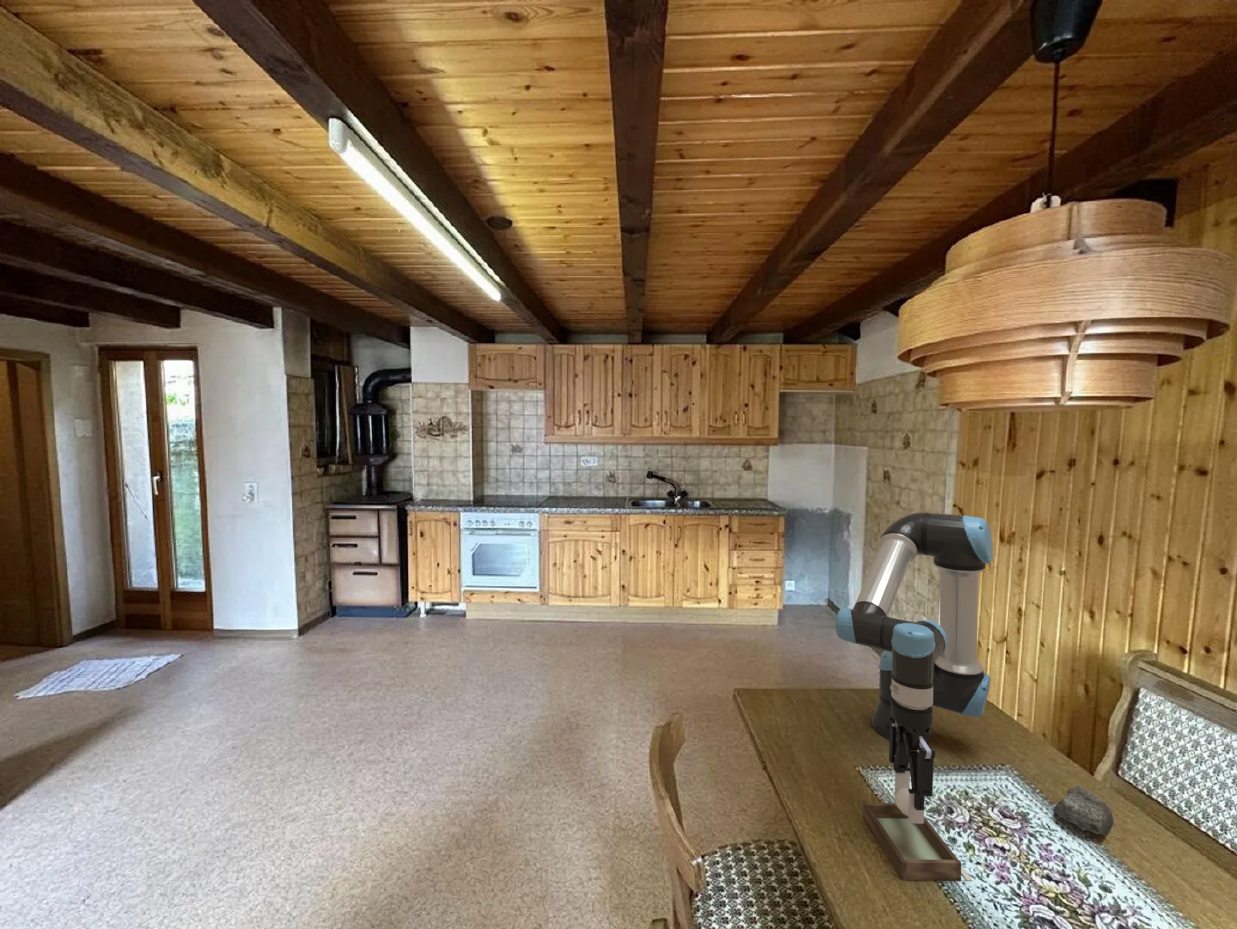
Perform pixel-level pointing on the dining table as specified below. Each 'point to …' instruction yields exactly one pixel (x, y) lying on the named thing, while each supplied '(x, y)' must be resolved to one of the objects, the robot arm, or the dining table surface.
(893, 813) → the brown wooden tray
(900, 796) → the cream egg
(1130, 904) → the dining table surface
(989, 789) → the dining table surface
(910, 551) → the robot arm
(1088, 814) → the rock
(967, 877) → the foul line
